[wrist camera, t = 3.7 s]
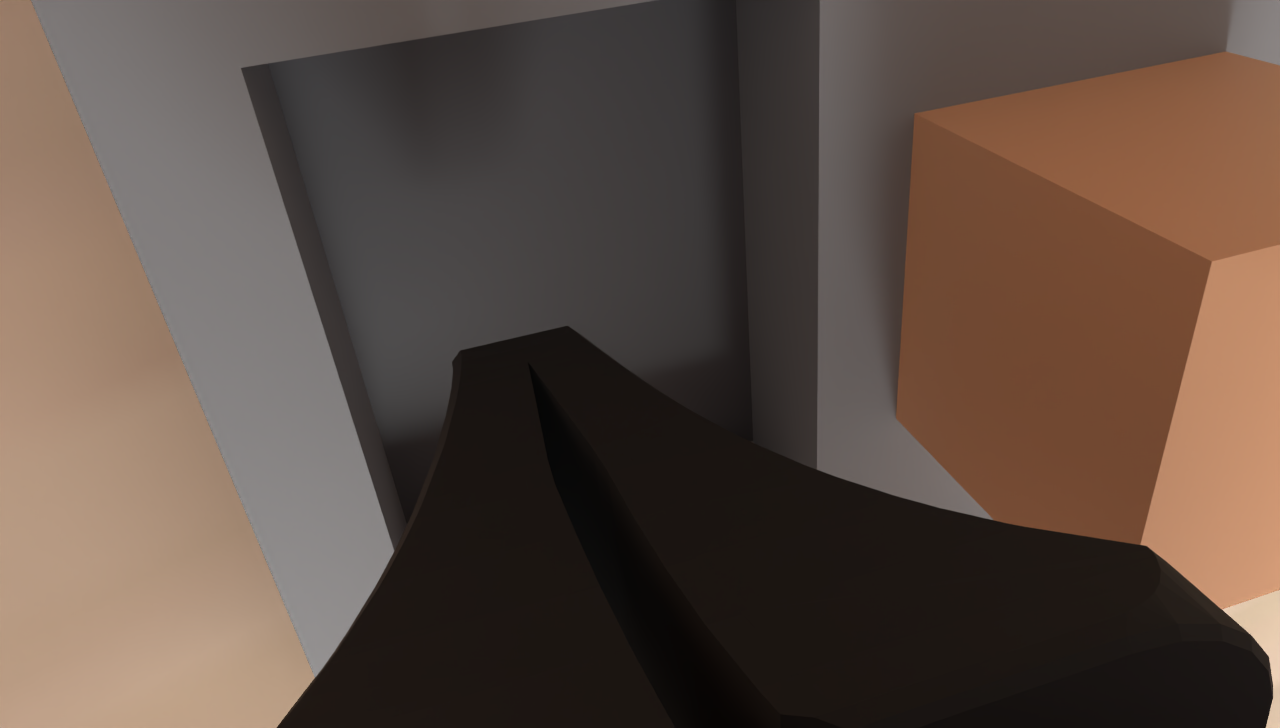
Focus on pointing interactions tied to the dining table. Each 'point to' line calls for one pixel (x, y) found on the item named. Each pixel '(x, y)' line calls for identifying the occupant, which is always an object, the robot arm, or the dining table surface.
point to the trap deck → (546, 216)
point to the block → (1107, 311)
